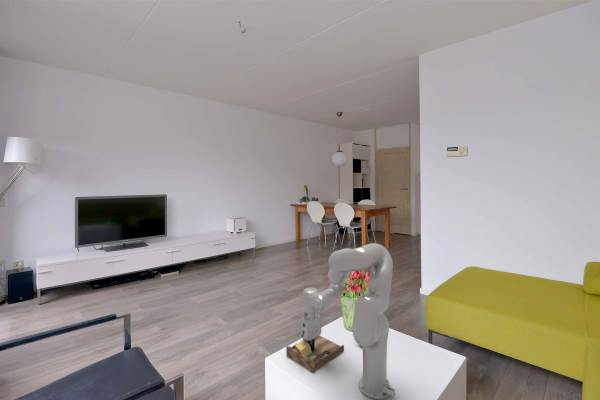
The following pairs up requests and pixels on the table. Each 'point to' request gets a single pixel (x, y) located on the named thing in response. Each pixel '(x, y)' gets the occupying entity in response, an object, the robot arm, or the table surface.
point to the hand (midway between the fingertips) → (311, 350)
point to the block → (303, 348)
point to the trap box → (316, 354)
